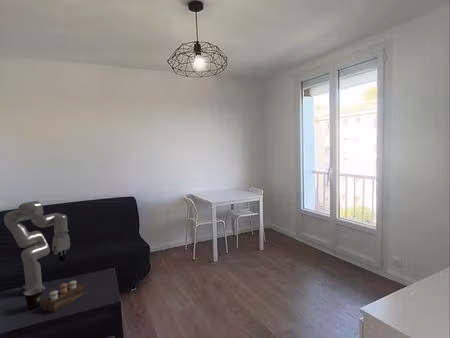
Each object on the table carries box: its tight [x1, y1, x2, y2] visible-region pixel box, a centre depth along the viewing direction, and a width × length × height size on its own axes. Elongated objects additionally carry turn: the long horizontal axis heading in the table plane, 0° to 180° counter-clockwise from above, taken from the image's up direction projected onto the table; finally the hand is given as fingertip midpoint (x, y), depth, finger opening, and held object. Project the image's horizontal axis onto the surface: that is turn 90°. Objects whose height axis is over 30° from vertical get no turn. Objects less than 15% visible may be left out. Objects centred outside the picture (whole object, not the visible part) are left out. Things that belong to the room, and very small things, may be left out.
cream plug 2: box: [67, 280, 77, 290], centre depth 188 cm, size 5×5×8 cm
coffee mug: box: [24, 288, 44, 311], centre depth 177 cm, size 12×9×10 cm
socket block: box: [41, 284, 85, 313], centre depth 181 cm, size 10×22×6 cm, turn 161°
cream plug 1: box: [48, 290, 59, 301], centre depth 174 cm, size 5×5×8 cm
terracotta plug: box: [58, 282, 69, 295], centre depth 181 cm, size 5×5×8 cm
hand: (62, 260), depth 185 cm, fingers closed
